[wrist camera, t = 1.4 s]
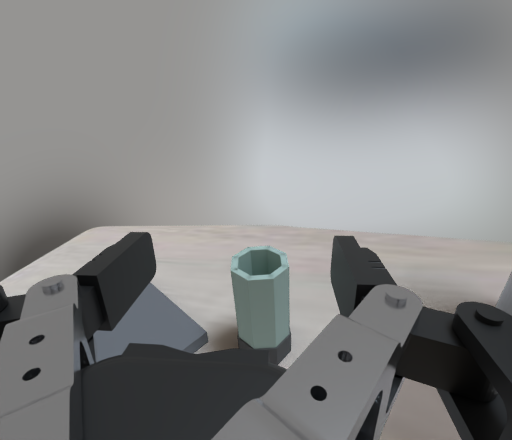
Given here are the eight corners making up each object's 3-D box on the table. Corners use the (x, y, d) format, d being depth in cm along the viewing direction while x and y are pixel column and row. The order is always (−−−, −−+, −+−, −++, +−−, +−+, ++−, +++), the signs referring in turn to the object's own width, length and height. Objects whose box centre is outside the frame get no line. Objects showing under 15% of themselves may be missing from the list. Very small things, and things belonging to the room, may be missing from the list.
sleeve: (263, 316, 34) (258, 239, 29) (299, 341, 30) (301, 258, 25) (229, 345, 30) (217, 264, 25) (266, 376, 27) (261, 289, 22)
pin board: (143, 282, 41) (133, 249, 39) (208, 341, 31) (200, 301, 28) (-65, 393, 27) (-103, 353, 25) (-70, 564, 17) (-136, 528, 15)
